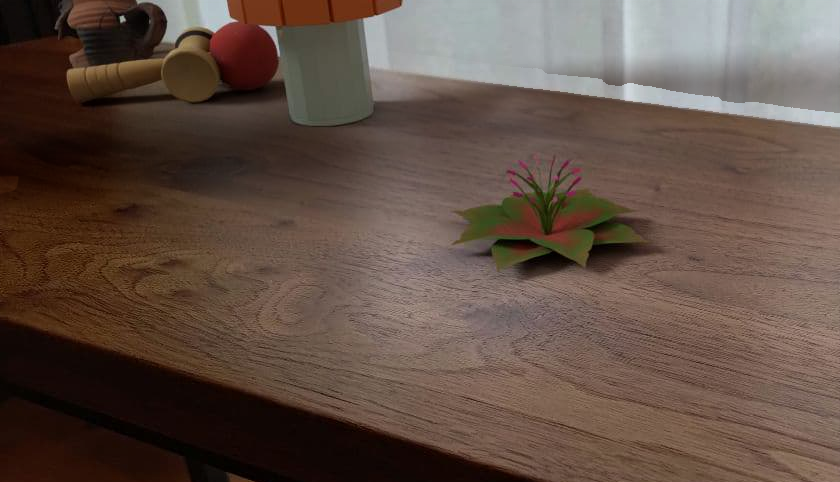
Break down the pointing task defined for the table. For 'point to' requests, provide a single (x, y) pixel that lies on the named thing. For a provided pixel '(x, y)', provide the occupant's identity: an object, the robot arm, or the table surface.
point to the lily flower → (546, 222)
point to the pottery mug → (111, 30)
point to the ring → (306, 11)
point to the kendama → (189, 65)
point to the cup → (326, 73)
